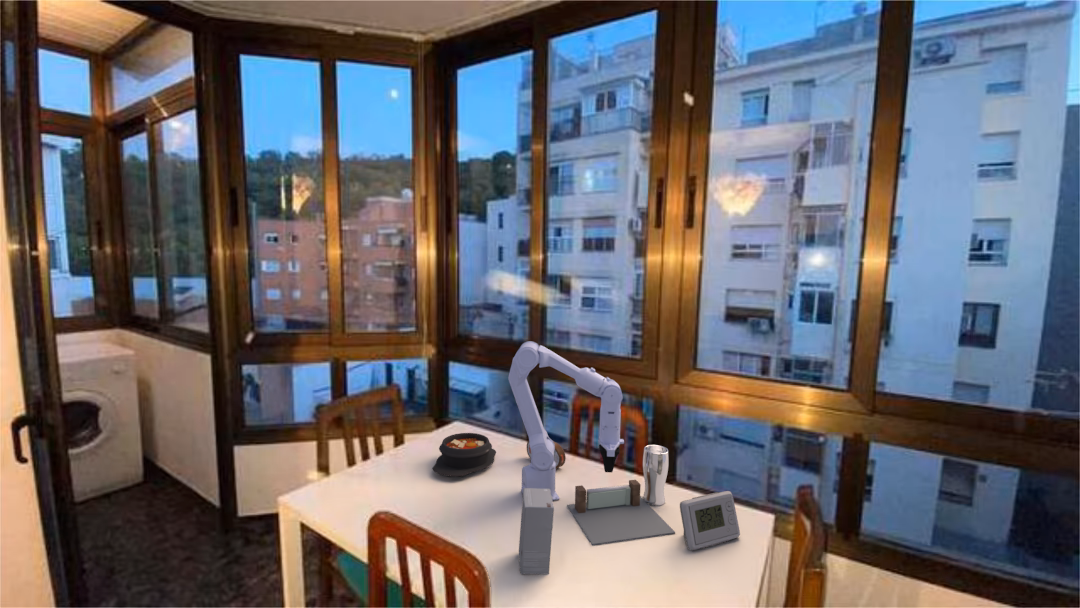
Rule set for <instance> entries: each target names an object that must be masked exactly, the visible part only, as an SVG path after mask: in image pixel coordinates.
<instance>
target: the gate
mask: <svg viewBox="0 0 1080 608" xmlns="http://www.w3.org/2000/svg"><path fill="white" fill-rule="evenodd" d="M630 491H631V488H630V487H629V484H624V485H616V486H615V485H614V486H608V487H607V486H606V487H598V488H589V489H586V507H587V508H588V509H594V508H602V507H610V506H618V505H630Z"/></svg>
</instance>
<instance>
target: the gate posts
mask: <svg viewBox="0 0 1080 608" xmlns="http://www.w3.org/2000/svg"><path fill="white" fill-rule="evenodd" d="M628 485H629V487H630V488H631V491H630V504H631V505H632V506H640V496H641V486H642V484H641V483H640V482H639V481H637V479H629V480H628ZM574 489H575V492H574V493H575V494H574V504H575V509H576V510H577V512H578V513H585V512H586V499H587V489H586V488H585V487H584V486H583V485H582V484H581V485H575V488H574Z"/></svg>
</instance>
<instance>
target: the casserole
mask: <svg viewBox="0 0 1080 608" xmlns="http://www.w3.org/2000/svg"><path fill="white" fill-rule="evenodd" d="M489 439H490V438H489V437H487V436H486V435H483V434H480V433H474V432H460V433H455V434H451V435H449V436H446V437H444V438H443V439H442V441H441V444H440V445H439V447H438V450H439V452H440V453H441V454H440V455H439V456H438V457H437V459H436V462H435V463H434V465H433V466H432V471H433V472H434V473H436V474H439V475H440V476H441V475H442V476H445V477H454V478H455V477H457V478H459V477H464V476H467V475H469V474H471V473H475V472H478V471H483V470H486V469H487V468H489V467H490V466H492V464H494V462H495V456H496V453H497V451H496V450H495V449H494V448H493V445H492V443H491V442H490V440H489Z"/></svg>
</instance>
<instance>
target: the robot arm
mask: <svg viewBox="0 0 1080 608" xmlns="http://www.w3.org/2000/svg"><path fill="white" fill-rule="evenodd" d="M538 364H539V366H538V367H539V368H546V367H551V368H553V369H555V370H557V371H558V372H561V373H563V374H565V375H566V376H569V377H570V378H573V379H574V380H575V384H576V385H577V387H579V388H581V389H583V390H585V391H587V392H588V393H590V394H591V395H593V396H596V397H599V398H600V399H601V400H600V404H601V405H600V409H599V434H598V435H599V437H598V441H597V442H598V444H599V445H598V450H599V454H600V455H601V457H602V461H603V462H602V463H603V468H604V469H603V470H604V473H613V471H614V468H615V465H616V464H615V463H616V461H617V460H616V459H618V458H617V457H618V455H619V454H620V445H624V444H625V440H624V438H621V414H622V413H621V411H622V409H621V402H622V401H623V399H624V396H623V393H622V389H621V386H620V385H619V383H618V382H616V381H615V380H614V379H611V378H610V377H609V376H606V377H604V376H603V375H601V374H600V373H598V372H596V369H595V368H594V367H590V368H589V367H586V366H585V367H581V368H580V367H578V366H576V365H575V364H574V363H572V362H570V361H568V360H567V359H566V358H564V357H562V356H560V355H558V354H557V353H555V352H554V351H552V350H551V349H550V348H549V349H548V348H547V347H545V346H544V345H541V344H540V345H539V343H537V342H535V341H531V340H530V341H525V342H523V343H522V344H521V345H520V347H519V348H518V350H517V351H516V353H515V355H514V357H512V362H511V366H510V368H509V374H508V378H507V379H508V383H509V385H510V389H511V391H512V394H513V396H514V400H515V402H516V405H517V407H518V411H519V414H520V417H521V419H522V421H523V422H522V423H523V424H524V428H525V430H526V431H525V432H526V434H527V436H528V441H529V443H530V449H531V452H532V456H531V459H530V460H531V461H530V464H528V465H525V466H522V468H521V489H520V492H521V494H522V495H523V489H524V488H537V489H550V491H551V496H552V497H553V499H552V501H559V500H560V499H561V498H560V496H559V494H558V493H557V492H556V471H557V469H556V463H555V461H554V450H555V445H554V442H555V441H554V440H552V439H551V438H550V437H549V435H548V432H547V430H546V429H545V427H544V425H543V422H542V418H541V416H540V413H539V410H538V408H537V405H536V402H535V399H534V396H533V393H532V391H531V387H530V385H529V382H528V379H527V378H528V376H529V374H530V372H531V371H532V370H533V369H535V367H536V366H537V365H538Z"/></svg>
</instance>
